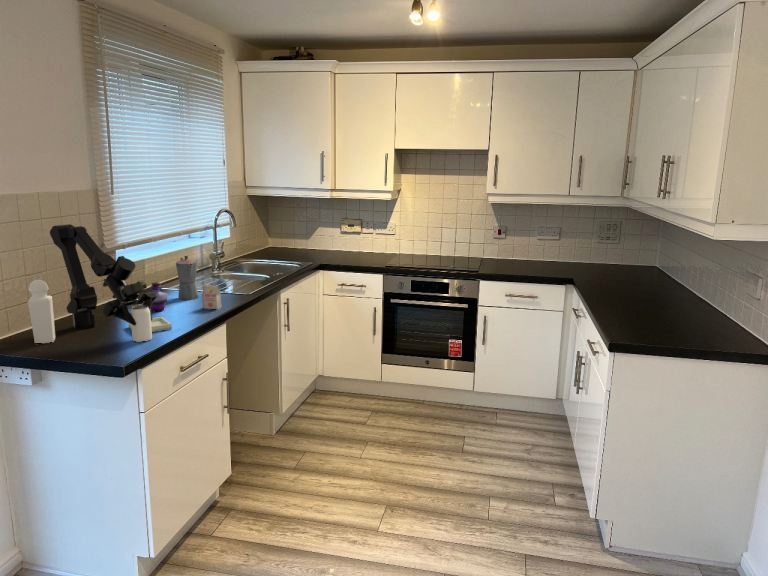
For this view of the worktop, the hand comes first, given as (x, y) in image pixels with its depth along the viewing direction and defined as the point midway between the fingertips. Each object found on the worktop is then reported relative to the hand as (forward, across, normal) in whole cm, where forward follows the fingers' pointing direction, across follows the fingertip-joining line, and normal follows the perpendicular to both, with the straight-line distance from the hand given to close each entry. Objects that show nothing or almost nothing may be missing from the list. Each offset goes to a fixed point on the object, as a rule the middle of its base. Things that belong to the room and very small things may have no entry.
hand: (143, 322), depth 199 cm
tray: (-3, +11, +12) cm, 17 cm away
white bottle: (-16, -18, +26) cm, 35 cm away
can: (+4, 0, +6) cm, 7 cm away
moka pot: (-22, +54, +32) cm, 66 cm away
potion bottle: (-17, +31, +27) cm, 45 cm away
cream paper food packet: (-5, +45, +14) cm, 48 cm away
